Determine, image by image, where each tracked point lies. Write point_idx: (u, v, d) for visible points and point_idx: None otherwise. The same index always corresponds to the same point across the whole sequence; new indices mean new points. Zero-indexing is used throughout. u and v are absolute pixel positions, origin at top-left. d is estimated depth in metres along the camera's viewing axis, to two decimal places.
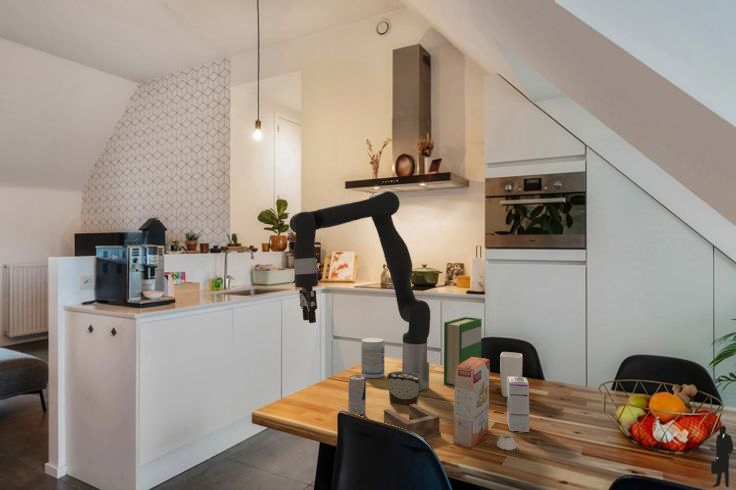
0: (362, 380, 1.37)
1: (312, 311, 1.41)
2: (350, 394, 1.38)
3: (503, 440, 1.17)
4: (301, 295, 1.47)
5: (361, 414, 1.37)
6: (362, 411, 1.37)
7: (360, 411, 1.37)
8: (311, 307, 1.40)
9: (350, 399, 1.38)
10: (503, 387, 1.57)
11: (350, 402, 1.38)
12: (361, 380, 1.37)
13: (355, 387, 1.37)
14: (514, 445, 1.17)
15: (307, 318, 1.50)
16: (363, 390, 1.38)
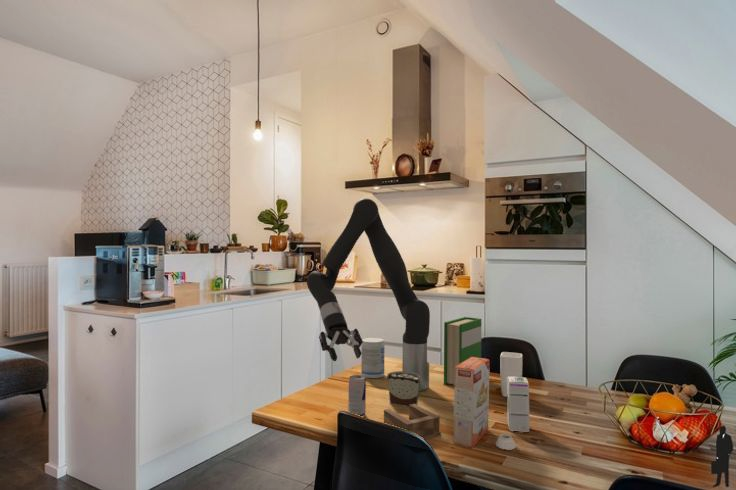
0: (362, 380, 1.37)
1: (328, 350, 1.45)
2: (350, 394, 1.38)
3: (502, 440, 1.18)
4: None
5: (361, 414, 1.37)
6: (362, 411, 1.37)
7: (360, 411, 1.37)
8: (322, 348, 1.45)
9: (350, 399, 1.38)
10: (503, 387, 1.57)
11: (350, 402, 1.38)
12: (361, 380, 1.37)
13: (355, 387, 1.37)
14: (513, 445, 1.17)
15: (357, 355, 1.47)
16: (363, 390, 1.38)
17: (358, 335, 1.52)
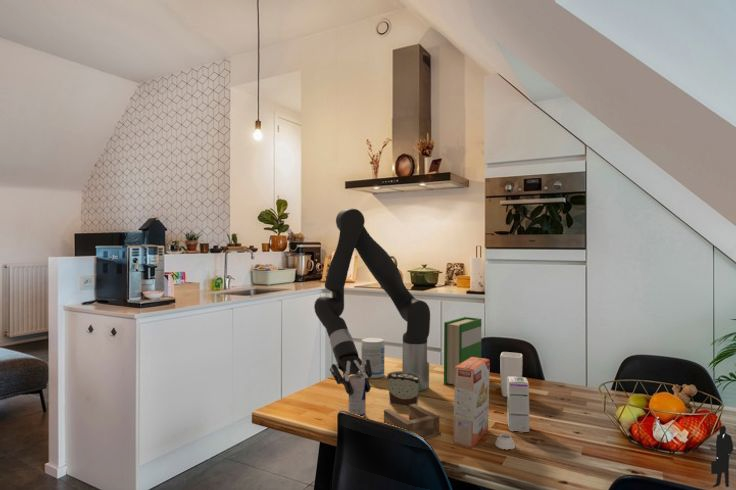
0: (362, 380, 1.37)
1: (344, 383, 1.38)
2: None
3: (502, 440, 1.18)
4: None
5: (361, 414, 1.37)
6: (362, 411, 1.37)
7: (360, 411, 1.37)
8: (337, 381, 1.39)
9: (350, 399, 1.38)
10: (503, 387, 1.57)
11: (350, 402, 1.38)
12: (361, 380, 1.37)
13: (355, 387, 1.37)
14: (512, 445, 1.17)
15: (367, 389, 1.39)
16: (363, 390, 1.38)
17: (369, 367, 1.44)
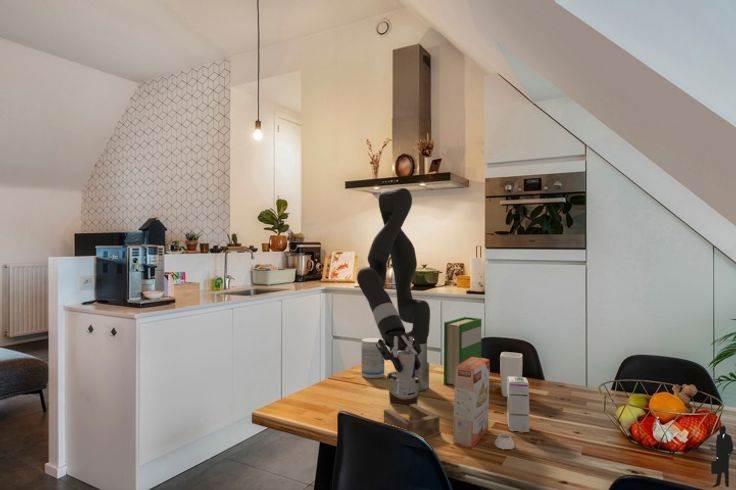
0: (412, 356, 1.27)
1: (392, 360, 1.27)
2: None
3: (501, 440, 1.18)
4: None
5: (411, 393, 1.26)
6: (412, 389, 1.26)
7: (410, 390, 1.26)
8: (385, 357, 1.28)
9: (399, 377, 1.27)
10: (503, 387, 1.57)
11: (399, 380, 1.27)
12: (411, 356, 1.26)
13: (404, 363, 1.26)
14: (512, 444, 1.17)
15: (416, 366, 1.28)
16: (413, 367, 1.27)
17: (417, 343, 1.33)
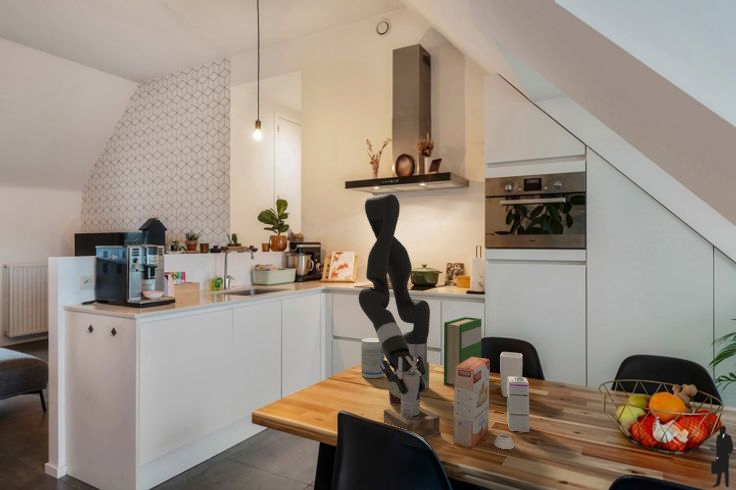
0: (417, 378, 1.26)
1: (396, 381, 1.26)
2: None
3: (501, 439, 1.18)
4: None
5: (415, 415, 1.25)
6: (417, 411, 1.26)
7: (414, 412, 1.25)
8: (389, 378, 1.27)
9: (403, 399, 1.26)
10: (503, 387, 1.57)
11: (403, 402, 1.26)
12: (416, 378, 1.26)
13: (409, 385, 1.25)
14: (511, 444, 1.17)
15: (421, 388, 1.28)
16: (418, 389, 1.26)
17: (421, 364, 1.33)
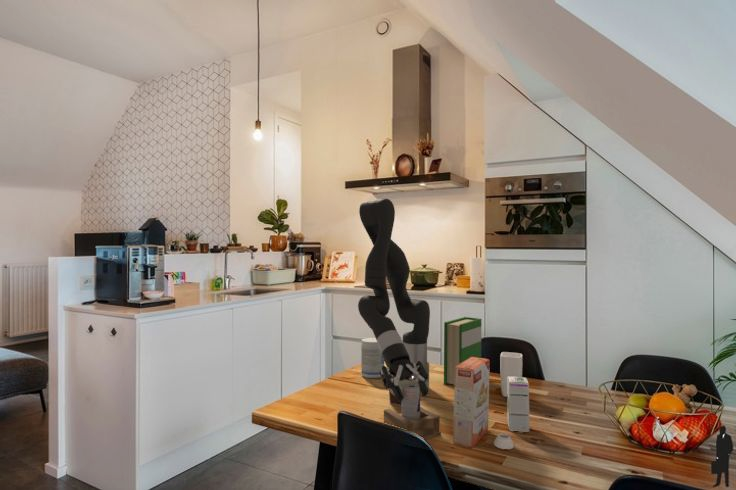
0: (417, 390, 1.26)
1: (392, 388, 1.26)
2: (404, 405, 1.26)
3: (500, 439, 1.18)
4: None
5: None
6: None
7: None
8: (385, 385, 1.27)
9: (404, 411, 1.26)
10: (503, 387, 1.57)
11: (404, 414, 1.26)
12: (416, 390, 1.26)
13: (409, 397, 1.25)
14: (511, 444, 1.17)
15: (424, 393, 1.29)
16: (418, 401, 1.26)
17: (422, 369, 1.33)
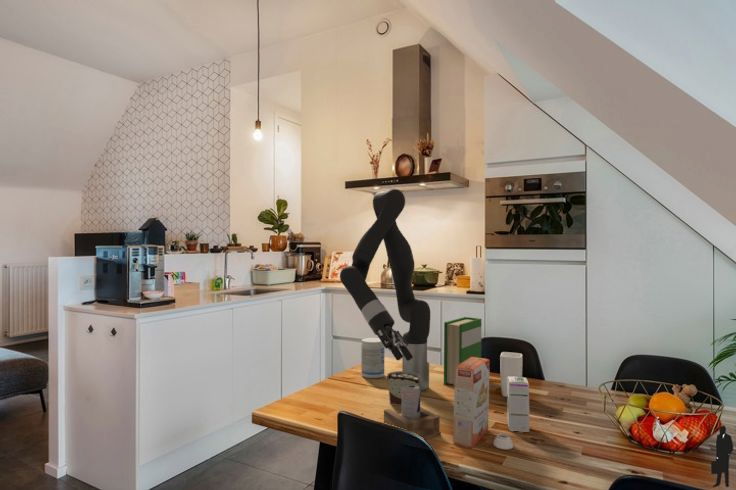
0: (417, 390, 1.26)
1: (392, 348, 1.34)
2: (404, 405, 1.26)
3: (500, 439, 1.18)
4: None
5: None
6: None
7: None
8: (385, 345, 1.33)
9: (404, 411, 1.26)
10: (503, 387, 1.57)
11: (404, 414, 1.26)
12: (416, 390, 1.26)
13: (410, 397, 1.25)
14: (510, 444, 1.17)
15: (409, 357, 1.40)
16: (418, 401, 1.26)
17: (402, 337, 1.46)
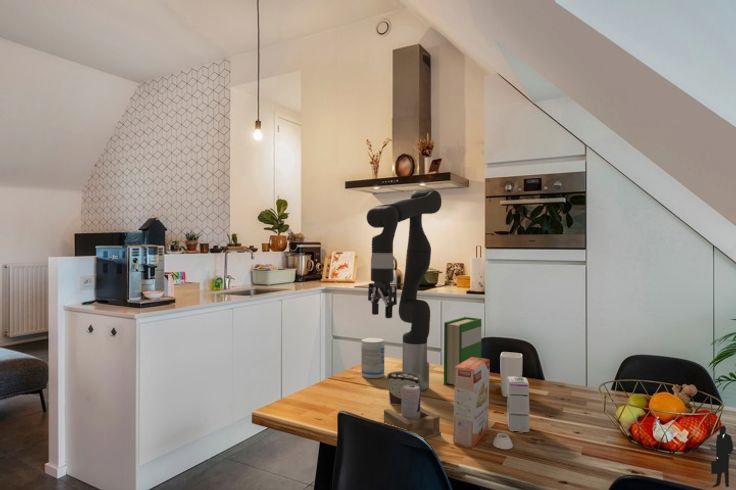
0: (417, 390, 1.26)
1: (390, 306, 1.41)
2: (404, 405, 1.26)
3: (499, 439, 1.18)
4: (376, 289, 1.46)
5: None
6: None
7: None
8: (391, 302, 1.40)
9: (404, 411, 1.26)
10: (503, 387, 1.57)
11: (404, 414, 1.26)
12: (416, 390, 1.26)
13: (410, 397, 1.25)
14: (510, 444, 1.17)
15: (376, 312, 1.50)
16: (418, 401, 1.26)
17: None
